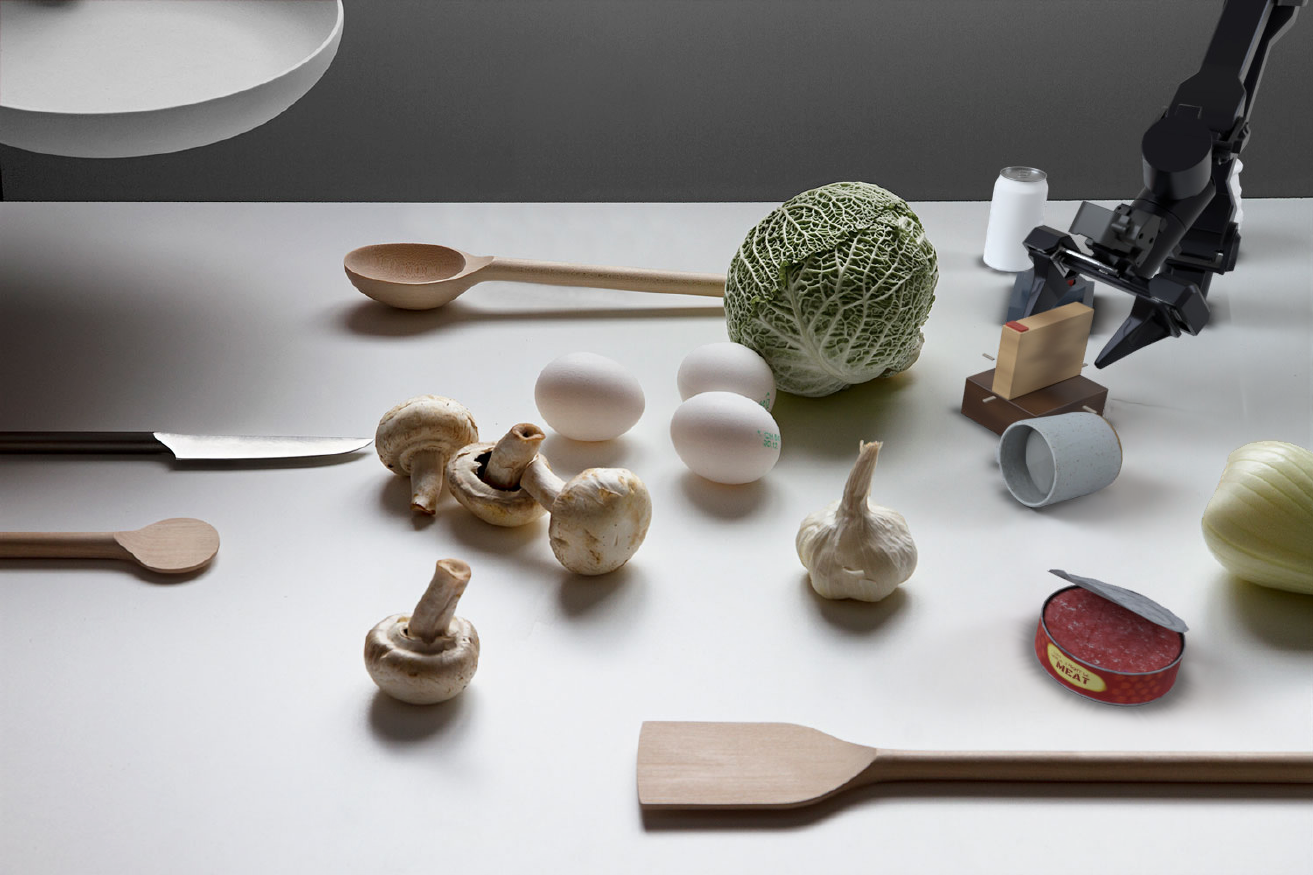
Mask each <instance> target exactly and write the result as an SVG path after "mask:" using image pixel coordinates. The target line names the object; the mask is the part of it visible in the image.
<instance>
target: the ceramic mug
mask: <svg viewBox="0 0 1313 875" xmlns="http://www.w3.org/2000/svg"><path fill="white" fill-rule="evenodd" d="M994 450H995V461H996V464H998V465H999V471H1000V474H1001V478H1002V481H1003V482H1004V485H1005V486H1006V488H1007V490H1008V491H1009V493H1010V494H1011V495H1012V496H1013V498H1014V499H1016V500H1017V501H1018V502H1020V503H1021V504H1022V505H1024V506H1026V507H1030V508H1041V507H1045V506H1048V505H1052V504H1056V503H1059V502H1064V501H1067V500H1071V499H1074V498H1077V497H1081V496H1086V495H1089V494H1093V493H1096V492H1099V491H1101V490H1103V489H1105V488H1106V487H1108V486H1109V485H1111V484H1113V483H1114V481H1116V479H1117V478H1118V476H1119V474H1120V472H1121V469H1122V466H1123V459H1124V458H1123V457H1124V456H1123V453H1124V452H1123V446H1122V442H1121V439H1120V436H1119V435H1118V433H1117V430H1116V429H1115V428H1114V426H1113V425H1112V424H1111V423H1110V421H1109V420H1108V419H1106V418H1105V417H1103V416H1102V417H1101V416H1100V415H1097V414H1094V413H1087V412H1072V413H1067V414H1062V415H1056V416H1049V417H1041V418H1034V419H1026V420H1021V421H1018V422H1015V423H1013V424H1011V425H1010V426H1009V427H1008V428H1007V429H1006V430H1005V432H1004V433H1003V435H1002V436H1000V441H999V444H997V445H996V446H995V449H994Z"/></svg>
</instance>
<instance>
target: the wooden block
mask: <svg viewBox="0 0 1313 875" xmlns="http://www.w3.org/2000/svg"><path fill="white" fill-rule="evenodd" d="M981 356H982V357H984V358H986V359H988V360H990V361H995V360H996V358H995V357H993V356H991V355H989V354H987V353H985V352H984V353H982V355H981ZM1088 366H1089V363H1086V362H1085V363H1084V362H1083V366H1082V369H1083V368H1086V367H1088ZM995 369H996V367H993V368H990V369H987V370H984V371H982V372H981V371H980V372H978V373H975V374H972V375H970V376H967V377H966V378H965V383H964V388H963V389H964V390H963V396H962V401H961V402H962V403H961V408H960V413H961V414H962V415H964V416H966V417H967V418H969V419H971V420H973V421H974V422H976V423H978V424H980V425H981V426H983V427H985V428H987V429H988V430H990V431H991V432H993V433H995V434H996V435H998V436H1000V437H1002V435H1003V433H1004V432H1005V430H1006V429H1007V428H1008V427H1009V426H1010V425H1011V424H1013V423H1015V422H1018V421H1021V420H1026V419H1034V418H1041V417H1049V416H1056V415H1062V414H1067V413H1072V412H1087V413H1094V414H1097V415H1100V416H1101V417H1103V415H1104V412H1105V406H1106V403H1107V398H1108V394H1109V388H1108V387H1106V386H1104V385H1101V384H1100V383H1098V382H1096V381H1094V380H1092V379H1090V378H1088V377H1086V376H1084V375H1082V374H1080V375H1077V376H1074V377H1071V378H1069V379H1066V380H1063V381H1060V382H1058V383H1055V384H1052V385H1049V386H1047V387H1044V388H1041V389H1038V390H1036V391H1033V392H1030V393H1027V394H1025V395H1022V396H1019V397H1016V398H1014V399H1011V400H1007V399H1005V398H1004V397H1002V396H1000V395H998V394H996V393H995V392H993V391H992V387H993V381H994V375H995Z"/></svg>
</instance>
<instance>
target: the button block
mask: <svg viewBox="0 0 1313 875" xmlns="http://www.w3.org/2000/svg"><path fill="white" fill-rule="evenodd" d="M1033 279H1034V268H1032V269H1030V270H1028V271H1025V272H1017V273H1016V276H1015V280H1014V284H1013V287H1012V291H1011V296H1010V300H1009V304H1008V307H1007V314H1006V320H1005V324H1006V323H1007V322H1010V321H1018V320H1021V319H1022V317H1023V314H1024V311H1025V308H1026V304H1027V301H1028V298H1029V295H1030V292H1031V288H1032V284H1033ZM1095 285H1096V280H1087V279H1086V278H1085V277H1083V276H1082V275H1081V274H1079V276H1078V277H1077V278H1075V279H1074V282H1073V285H1072V286H1071V289H1070V290H1069V291H1068V292H1067V293H1066V294H1065V295H1064V296H1063V298H1062V299H1061V300H1060V301H1059V302H1058V303H1057V304H1056V305H1055V306H1054V307H1053V308H1052V309H1055V308H1058V307H1061V306H1064V305H1067V304H1071V303H1074V302H1079V303H1081V304H1083V305H1085V306H1088V307H1090V308H1092V309H1093V304H1094V295H1095ZM1052 309H1051V310H1052Z"/></svg>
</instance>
